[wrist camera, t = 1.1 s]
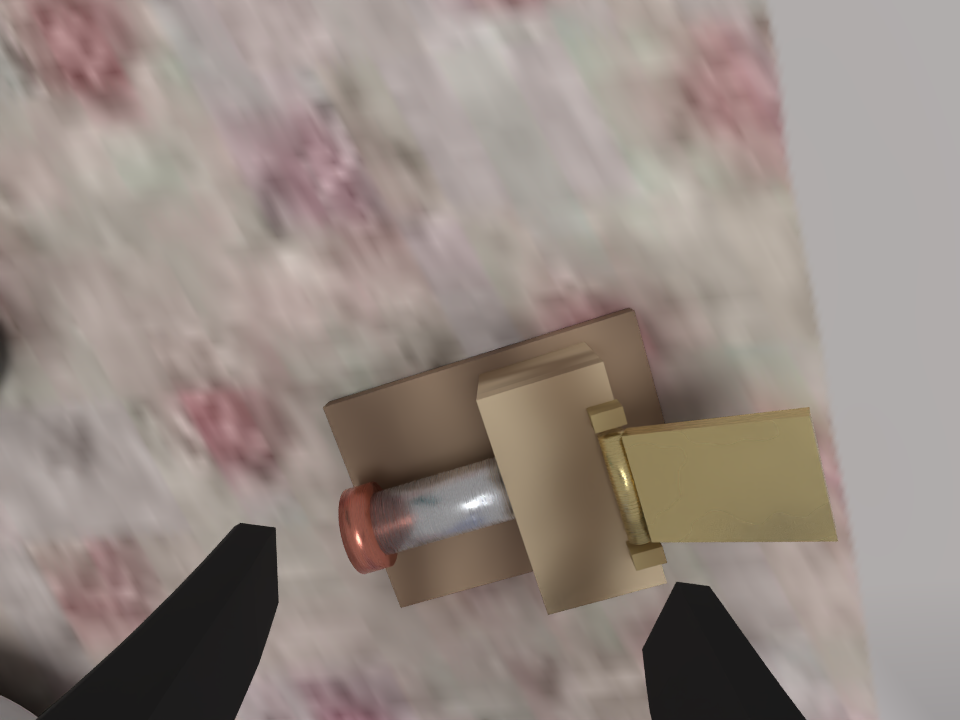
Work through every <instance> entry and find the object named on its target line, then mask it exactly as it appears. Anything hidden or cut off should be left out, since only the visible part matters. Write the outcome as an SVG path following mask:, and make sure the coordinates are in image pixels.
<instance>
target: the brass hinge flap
mask: <svg viewBox="0 0 960 720" xmlns="http://www.w3.org/2000/svg"><path fill="white" fill-rule="evenodd" d="M597 437H598V440H599V444H600V447H601V451H602V454H603V457H604V461H605V464H606V467H607V471H608V474H609V478H610V481H611V484H612V488H613V491H614V494H615V498H616V501H617V505H618V508H619V511H620V515H621V518H622V521H623V525H624V528H625V531H626V535H627V538H628V541H629V542H630V543H631V544H635V545H641V544H646V543H648V542H650V541H652V542H818V541H838V540H837V532H836V526H835V522H834V517H833V513H832V508H831V504H830V499H829V495H828V490H827V486H826V481H825V476H824V472H823V467H822V463H821V458H820V454H819V449H818V445H817V440H816V435H815V431H814V426H813V422H812V417H811V413H810V408H809V407H807V408H798V409H789V410H781V411H772V412H763V413H755V414H746V415H737V416H728V417H720V418H711V419H702V420H694V421H685V422H676V423H667V424H659V425H650V426H641V427H633V428H626V429H625V431H624V430H623V429H622V428H613V429H609V430H606V431H603V432H601V433H599V434H598V436H597Z"/></svg>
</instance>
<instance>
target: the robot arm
mask: <svg viewBox="0 0 960 720" xmlns="http://www.w3.org/2000/svg"><path fill="white" fill-rule="evenodd" d="M278 603H279V601H278V576H277V552H276V528H274V527H267V526H259V525H252V524H245V523H240V524H238V525H236V526H235V527H234V528H233V529H232V530H231V531H230V532H229V533H228V534H227V535H226V537H225V538H224V539H223V540H222V541H221V542H220V543H219V544H218V545H217V547H216V548H215V549H214V550H213V551H212V552H211V553H210V554H209V555H208V556H207V557H206V558H205V560H204V561H203V562H202V563H201V564H200V565H199V566H198V567H197V568H196V569H195V570H194V571H193V572H192V573H191V574H190V575H189V576H188V577H187V579H186V580H185V581H184V582H183V583H182V584H181V585H180V586H179V587H178V588H177V589H176V590H175V591H174V592H173V593H172V594H171V595H170V596H169V597H168V598H167V599H166V600H165V601H164V602H163V603H162V604H161V605H160V606H159V607H158V608H157V609H156V610H155V611H154V612H153V613H152V614H151V615H150V616H149V617H148V618H147V619H146V620H145V621H144V622H143V623H142V624H141V625H140V626H139V627H138V628H137V629H136V630H135V631H134V632H133V633H132V634H130V635H129V636H128V637H127V638H126V639H125V640H124V641H123V642H122V643H121V644H120V645H119V646H118V647H117V648H116V649H114V650H113V651H112V652H111V653H110V654H109V655H108V656H107V657H106V658H105V659H103V660H102V661H101V662H100V663H99V664H98V665H97V666H96V667H95V668H94V669H93V670H91V671H90V672H89V673H88V674H87V675H86V676H85V677H84V678H83V679H82V680H80V681H79V682H78V683H77V684H76V685H75V686H74V687H73V688H72V689H71V690H69V691H68V692H67V693H66V694H65V695H64V696H63V697H61V698H60V699H59V700H58V701H57V702H56V703H54V704H53V705H52V706H51V707H50V708H49V709H47V710H46V711H45V712H44V713H43V714H42V715H40V716H39V717H38V718H37V719H36V720H235V718H236V715H237V713H238V711H239V708H240V706H241V704H242V702H243V699H244V697H245V695H246V692H247V690H248V688H249V685H250V683H251V681H252V678H253V676H254V674H255V671H256V669H257V667H258V664H259V662H260V659H261V656H262V653H263V650H264V647H265V644H266V641H267V638H268V635H269V631H270V628H271V625H272V622H273V619H274V615H275V612H276V609H277V606H278ZM642 651H643V660H644V669H645V678H646V686H647V694H648V701H649V709H650V714H651V718H652V720H806V719H805V717H804V716H803V715H802V714H801V712H800V711H799V710H798V708H797V707H796V706H795V704H794V703H793V702H792V700H791V699H790V698H789V696H788V695H787V694H786V692H785V691H784V690H783V688H782V687H781V686H780V684H779V683H778V681H777V680H776V679H775V677H774V676H773V675H772V673H771V672H770V670H769V669H768V668H767V666H766V665H765V664H764V662H763V661H762V659H761V658H760V657H759V655H758V654H757V652H756V651H755V650H754V648H753V647H752V645H751V644H750V643H749V641H748V640H747V638H746V637H745V636H744V634H743V633H742V631H741V630H740V629H739V627H738V626H737V624H736V623H735V621H734V620H733V619H732V617H731V616H730V614H729V613H728V612H727V610H726V609H725V607H724V606H723V605H722V603H721V602H720V600H719V599H718V598H717V596H716V595H715V593H714V592H713V591H712V589H711V588H710V587H709V586H704V585H697V584H689V583H682V582H676V584H675V586H674V588H673V590H672V592H671V594H670V596H669V598H668V600H667V602H666V603H665V605H664V607H663V609H662V611H661V613H660V615H659V617H658V619H657V621H656V623H655V625H654V627H653V629H652V631H651V633H650V635H649V637H648V639H647V641H646V643H645V645H644V647H643V649H642Z"/></svg>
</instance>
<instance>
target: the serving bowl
mask: <svg viewBox="0 0 960 720" xmlns="http://www.w3.org/2000/svg"><path fill="white" fill-rule="evenodd" d="M37 718H38V717H37V716H35V715H34V714H33V713H31V712H30V711H28V710H26V709H25V708H23V707H22V706H20V705H18V704H17V703H15V702H13V701H11V700H9V699H7V698H5V697H3V696H1V695H0V720H36V719H37Z"/></svg>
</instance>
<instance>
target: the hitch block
mask: <svg viewBox="0 0 960 720" xmlns="http://www.w3.org/2000/svg"><path fill="white" fill-rule="evenodd" d="M323 409H324V411H325V414H326V416H327V419H328V422H329V424H330V427H331V429H332V432H333V434H334V437H335V440H336V442H337V445H338V447H339V450H340V452H341V455H342V458H343V460H344V463H345V465H346V468H347V470H348V473H349V476H350V478H351V481H352V483H353V486H354V487H356V486H359V485H363V484H366V483H369V482H376V483H377V484H378V485H379V486H380V487H381V488H382V489H383V490H385V489H388V488H392V487H395V486H398V485H402V484H405V483H409V482H412V481H415V480H419V479H422V478H426V477H429V476H432V475H436V474H439V473H442V472H446V471H449V470H453V469H456V468H459V467H463V466H466V465H470V464H473V463H476V462H480V461H483V460H486V459H490V458H493V457H495V458H496V461H497V464H498V467H499V470H500V473H501V476H502V479H503V482H504V485H505V488H506V491H507V494H508V497H509V500H510V503H511V506H512V509H513V512H514V515H515V518H516V519H513V520H510V521H506V522H503V523H499V524H496V525H492V526H489V527H485V528H482V529H478V530H474V531H471V532H467V533H464V534H460V535H457V536H453V537H450V538H446V539H443V540H439V541H436V542H432V543H429V544H425V545H422V546H418V547H415V548H411V549H408V550H404V551H401V552H398V554H397V559H396V562H395V564H394V565H393V566H391V567H388V568H386V571H387V573H388V576H389V578H390V581H391V584H392V586H393V589H394V591H395V594H396V596H397V599H398V602H399V604H400V607H401V608H402V607H405V606H409V605H413V604H416V603H420V602H424V601H427V600H431V599H434V598H438V597H442V596H445V595H449V594H453V593H456V592H460V591H463V590H467V589H471V588H474V587H478V586H482V585H485V584H489V583H493V582H496V581H500V580H503V579H507V578H511V577H514V576H518V575H522V574H525V573H529V572H532V571H533V572H534V575H535V578H536V581H537V584H538V587H539V590H540V593H541V595H542V598H543V601H544V604H545V607H546V610H547V613H548V615H549V614H553V613H557V612H561V611H564V610H568V609H572V608H576V607H579V606H583V605H587V604H590V603H594V602H598V601H602V600H605V599H609V598H613V597H617V596H620V595H624V594H628V593H631V592H635V591H639V590H643V589H646V588H650V587H654V586H658V585H661V584H665V583H667V582H666V579H665V575H664V572H663V568H662V565H661V564H664V563H667V561H666V557H665V554H664V550H663V547H662V545H661V543H660V542H652V541H650V542H648V543H646V544H641V545H635V544H631V543H630V542H629V541H628V538H627V535H626V531H625V528H624V525H623V521H622V518H621V515H620V511H619V508H618V505H617V501H616V498H615V494H614V491H613V488H612V484H611V481H610V478H609V474H608V471H607V467H606V464H605V461H604V457H603V454H602V451H601V447H600V444H599V440H598V437H597V436H598V434H599V433H601V432H603V431H606V430H609V429H613V428H622V429H623V430H624V431H625V429H626V428H633V427H641V426H650V425H659V424H665V422H664V418H663V415H662V411H661V407H660V404H659V400H658V396H657V393H656V389H655V385H654V381H653V378H652V374H651V370H650V367H649V363H648V359H647V356H646V352H645V348H644V345H643V341H642V337H641V334H640V330H639V326H638V323H637V319H636V315H635V311H634V310H632V309H630V308H627V309H624V310H621V311H618V312H615V313H611V314H608V315H605V316H602V317H599V318H595V319H592V320H589V321H586V322H583V323H579V324H576V325H573V326H570V327H567V328H563V329H560V330H557V331H554V332H551V333H547V334H544V335H541V336H538V337H535V338H531V339H528V340H525V341H522V342H519V343H516V344H512V345H509V346H506V347H503V348H500V349H496V350H493V351H490V352H487V353H484V354H480V355H477V356H474V357H471V358H468V359H464V360H461V361H458V362H455V363H452V364H448V365H445V366H442V367H439V368H436V369H432V370H429V371H426V372H423V373H420V374H416V375H413V376H410V377H407V378H404V379H400V380H397V381H394V382H391V383H388V384H384V385H381V386H378V387H375V388H372V389H368V390H365V391H362V392H359V393H356V394H352V395H349V396H346V397H343V398H340V399H336V400H333V401H330V402H328V403H327V404H326V405H325V406H324V407H323Z"/></svg>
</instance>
